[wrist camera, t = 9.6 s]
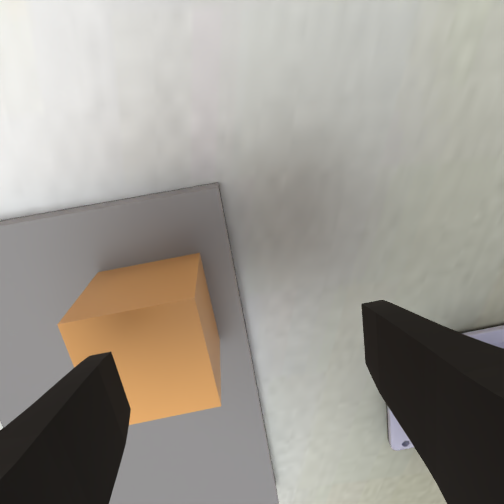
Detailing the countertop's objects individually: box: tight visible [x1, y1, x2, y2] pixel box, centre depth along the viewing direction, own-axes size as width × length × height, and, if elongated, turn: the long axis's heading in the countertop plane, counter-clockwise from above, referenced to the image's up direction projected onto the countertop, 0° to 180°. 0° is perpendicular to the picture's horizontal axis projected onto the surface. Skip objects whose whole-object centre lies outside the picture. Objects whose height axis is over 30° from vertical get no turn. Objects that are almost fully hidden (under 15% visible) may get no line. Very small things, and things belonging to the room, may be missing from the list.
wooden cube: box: [57, 253, 221, 425], centre depth 17 cm, size 5×5×5 cm
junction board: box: [0, 183, 279, 504], centre depth 20 cm, size 14×21×4 cm, turn 9°
